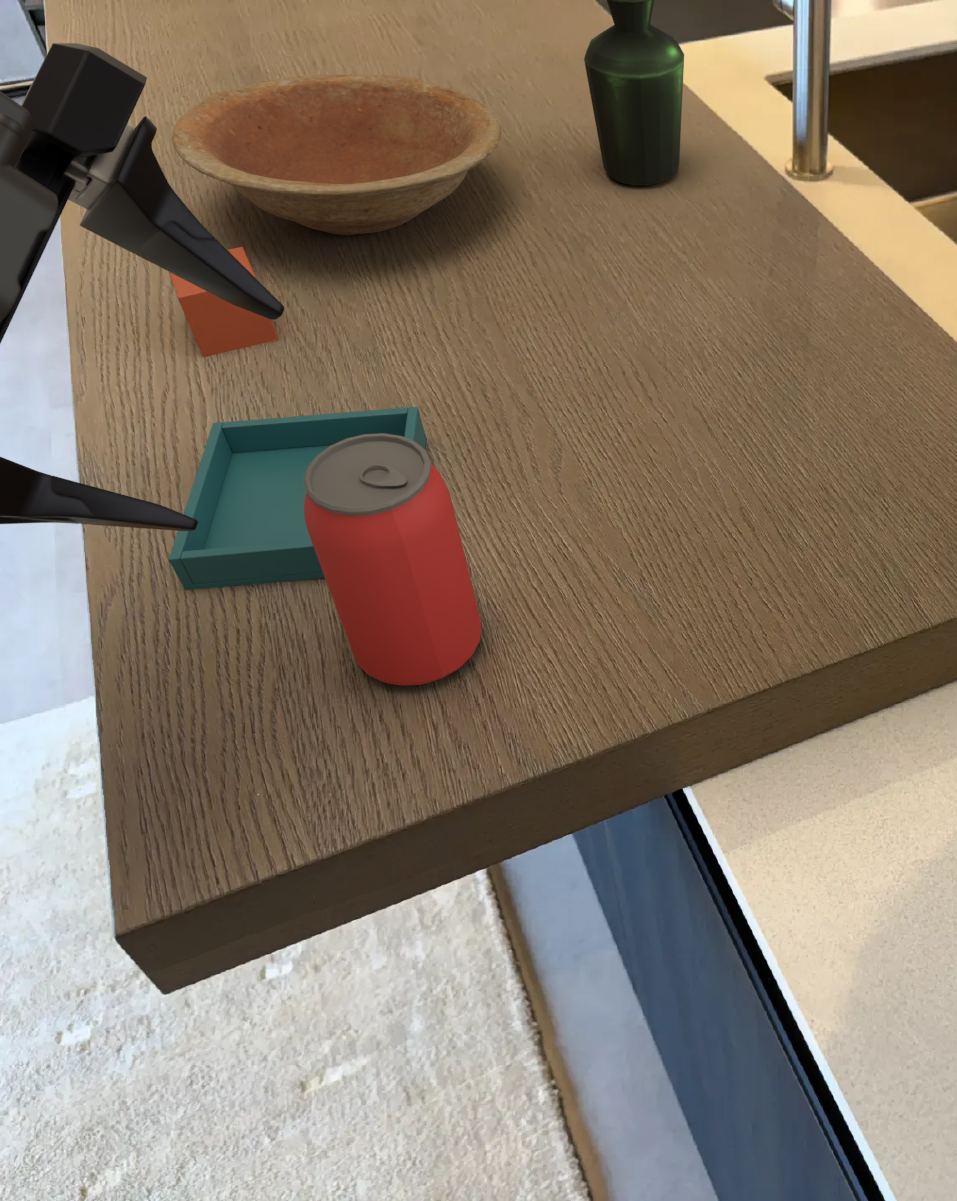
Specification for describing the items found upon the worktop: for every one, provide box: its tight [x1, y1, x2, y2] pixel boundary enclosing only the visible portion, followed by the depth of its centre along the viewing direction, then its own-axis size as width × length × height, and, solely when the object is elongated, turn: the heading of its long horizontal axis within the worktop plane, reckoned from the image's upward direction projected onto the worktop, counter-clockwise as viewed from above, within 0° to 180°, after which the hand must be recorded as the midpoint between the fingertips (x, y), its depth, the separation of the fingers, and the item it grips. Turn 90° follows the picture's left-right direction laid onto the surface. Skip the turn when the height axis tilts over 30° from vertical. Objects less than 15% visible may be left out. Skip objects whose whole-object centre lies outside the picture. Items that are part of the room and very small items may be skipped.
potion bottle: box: [583, 0, 685, 186], centre depth 92 cm, size 8×8×18 cm
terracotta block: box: [168, 246, 279, 358], centre depth 79 cm, size 5×5×5 cm
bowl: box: [171, 74, 502, 236], centre depth 90 cm, size 24×24×8 cm
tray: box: [168, 406, 427, 591], centre depth 67 cm, size 12×12×2 cm
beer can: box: [303, 433, 483, 687], centre depth 56 cm, size 7×7×12 cm
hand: (238, 417), depth 44 cm, fingers open, 9 cm apart
